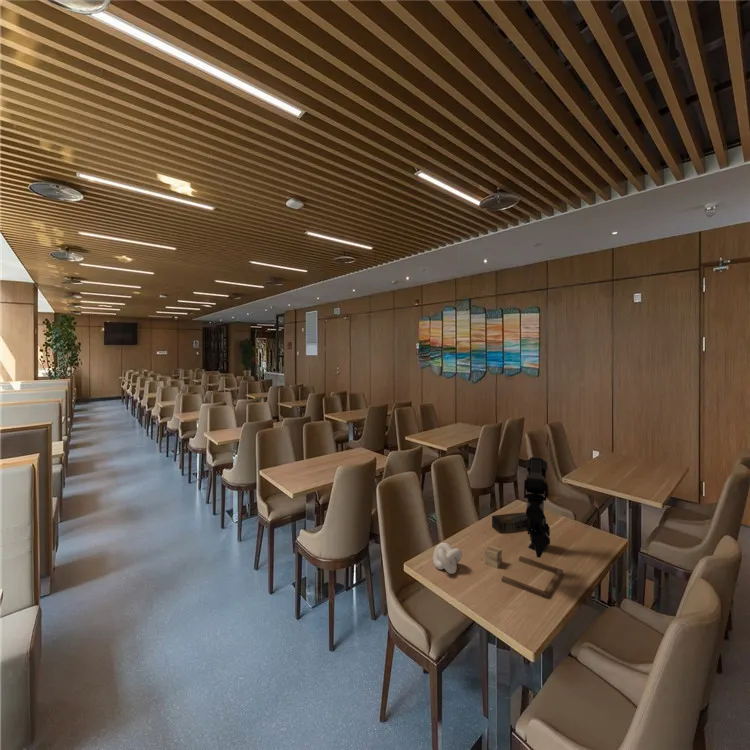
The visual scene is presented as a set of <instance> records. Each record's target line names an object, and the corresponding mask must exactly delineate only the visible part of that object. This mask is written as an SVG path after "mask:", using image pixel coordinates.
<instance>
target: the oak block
mask: <svg viewBox="0 0 750 750" xmlns="http://www.w3.org/2000/svg"><path fill="white" fill-rule="evenodd" d="M484 551H485V552H484V554H485V555H484V556H485V557H484V558H485V561H484V563H485V565H486V566H489V567H491V568H493V569H498V568H499V567H500V566H502V564H503V556H502V555H503V553H502V552H503V549H501V548H500V547H499V548H498V547H496V546H493V545H489V546H488V547H487V548H486V549H485V550H484Z"/></svg>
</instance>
